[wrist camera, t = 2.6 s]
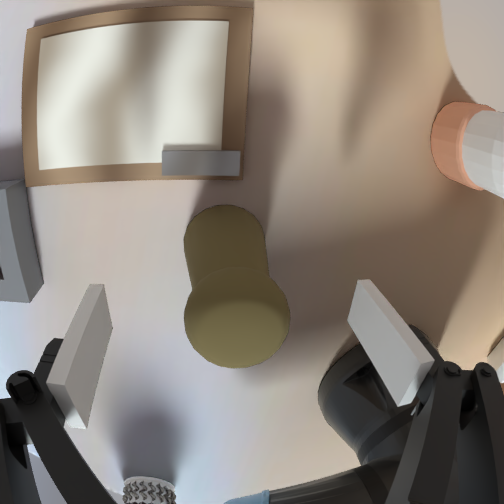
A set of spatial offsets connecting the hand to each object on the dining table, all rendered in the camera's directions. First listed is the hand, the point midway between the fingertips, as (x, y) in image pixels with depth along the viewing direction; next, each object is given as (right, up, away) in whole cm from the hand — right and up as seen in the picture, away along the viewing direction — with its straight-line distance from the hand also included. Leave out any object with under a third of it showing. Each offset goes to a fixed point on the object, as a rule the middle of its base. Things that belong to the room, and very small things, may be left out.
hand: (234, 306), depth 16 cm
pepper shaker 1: (-1, +3, +8) cm, 9 cm away
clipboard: (-7, +13, +2) cm, 15 cm away
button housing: (-21, +4, +4) cm, 22 cm away
